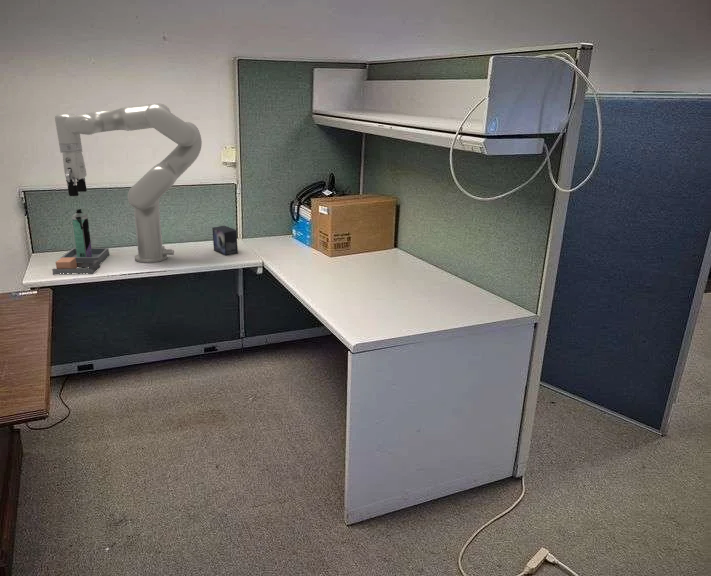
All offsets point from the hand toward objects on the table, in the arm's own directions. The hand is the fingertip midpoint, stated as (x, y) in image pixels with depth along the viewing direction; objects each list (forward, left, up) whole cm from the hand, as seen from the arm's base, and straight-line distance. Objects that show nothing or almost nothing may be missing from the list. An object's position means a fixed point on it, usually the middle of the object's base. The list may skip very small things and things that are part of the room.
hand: (78, 193), depth 213 cm
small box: (-54, -10, -27) cm, 61 cm away
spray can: (+1, 0, -26) cm, 26 cm away
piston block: (+3, +14, -27) cm, 30 cm away
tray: (0, 0, -27) cm, 27 cm away
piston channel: (-1, +14, -27) cm, 30 cm away
